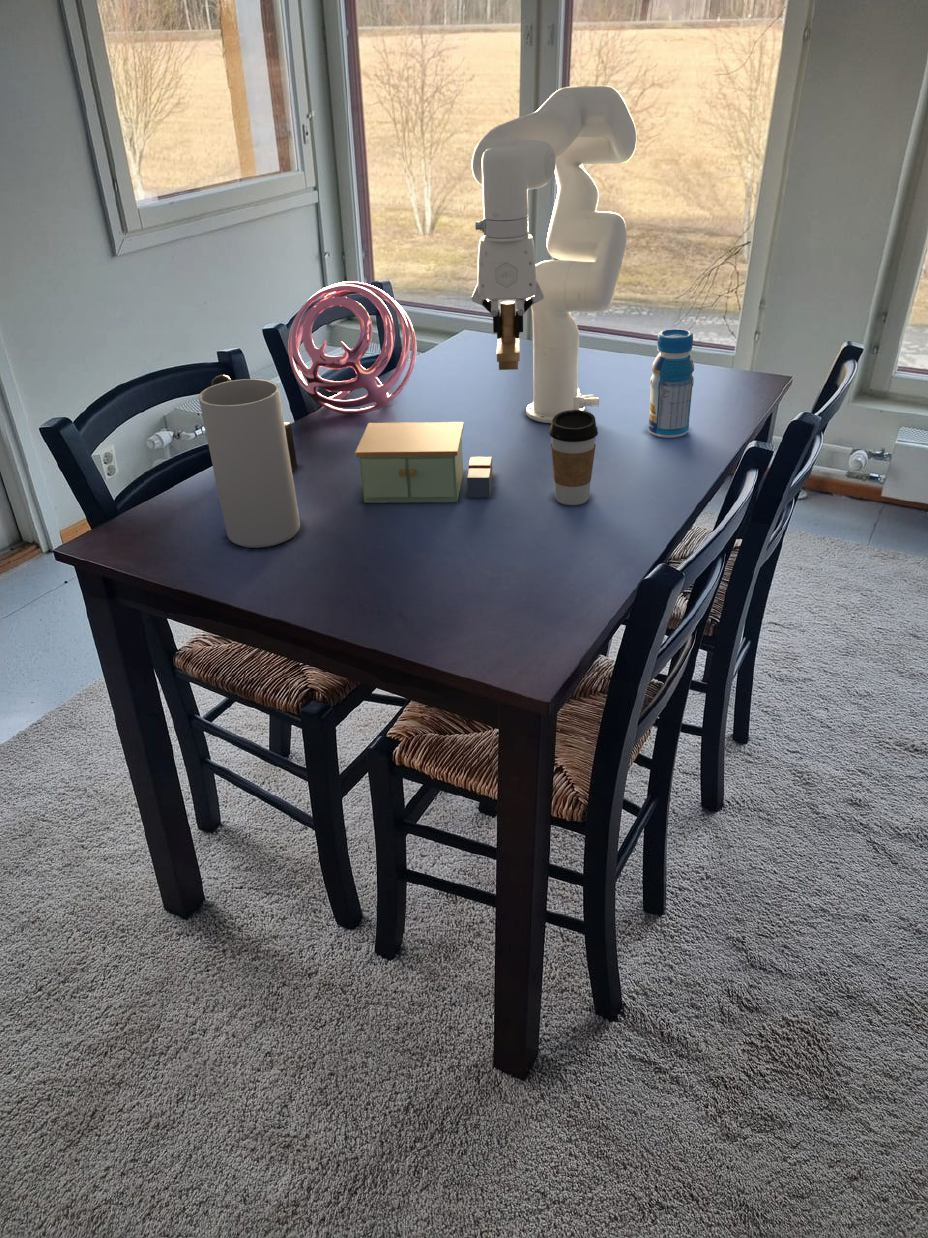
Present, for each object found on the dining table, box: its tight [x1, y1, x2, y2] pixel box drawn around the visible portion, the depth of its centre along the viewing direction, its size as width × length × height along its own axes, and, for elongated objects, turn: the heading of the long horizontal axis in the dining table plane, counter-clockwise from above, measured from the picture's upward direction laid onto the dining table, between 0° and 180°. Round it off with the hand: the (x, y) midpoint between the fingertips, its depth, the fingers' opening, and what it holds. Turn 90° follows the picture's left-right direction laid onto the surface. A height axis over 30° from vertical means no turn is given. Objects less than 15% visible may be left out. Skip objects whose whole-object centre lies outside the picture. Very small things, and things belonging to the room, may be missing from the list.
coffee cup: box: [548, 410, 599, 506], centre depth 163 cm, size 8×8×15 cm
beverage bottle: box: [647, 328, 695, 439], centre depth 186 cm, size 8×8×20 cm
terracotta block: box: [468, 456, 493, 482], centre depth 174 cm, size 4×4×4 cm
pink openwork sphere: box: [287, 281, 418, 415], centre depth 205 cm, size 28×28×27 cm
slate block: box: [466, 467, 493, 499], centre depth 169 cm, size 4×4×4 cm
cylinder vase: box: [198, 378, 301, 549], centre depth 154 cm, size 12×12×25 cm
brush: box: [496, 300, 521, 371], centre depth 168 cm, size 4×13×10 cm, turn 177°
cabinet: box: [354, 421, 465, 504], centre depth 171 cm, size 18×15×10 cm
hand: (508, 335), depth 168 cm, fingers closed on brush, 2 cm apart
